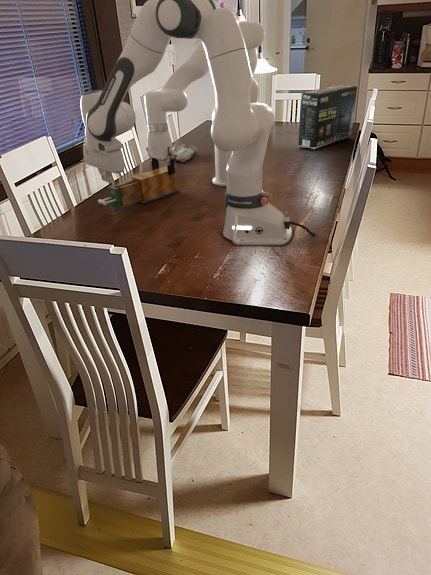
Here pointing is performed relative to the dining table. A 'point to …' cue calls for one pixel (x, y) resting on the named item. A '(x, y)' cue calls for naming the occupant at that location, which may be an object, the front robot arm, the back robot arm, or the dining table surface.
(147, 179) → the cabinet
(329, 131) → the router box
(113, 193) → the drawer
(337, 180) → the dining table surface
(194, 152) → the fossil
